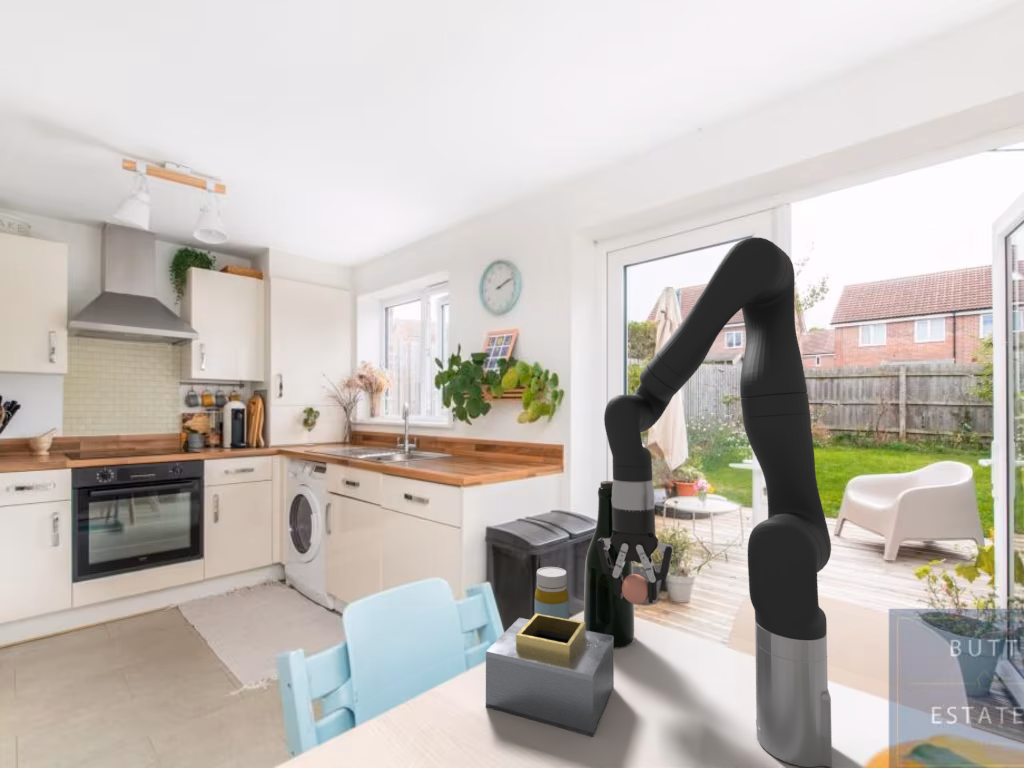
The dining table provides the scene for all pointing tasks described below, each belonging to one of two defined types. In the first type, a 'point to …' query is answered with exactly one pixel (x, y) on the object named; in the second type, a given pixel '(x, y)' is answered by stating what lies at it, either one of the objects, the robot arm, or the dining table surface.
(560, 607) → the bottle
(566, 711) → the grey box with opening
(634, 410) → the robot arm
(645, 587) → the ball
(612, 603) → the dark green wine bottle
